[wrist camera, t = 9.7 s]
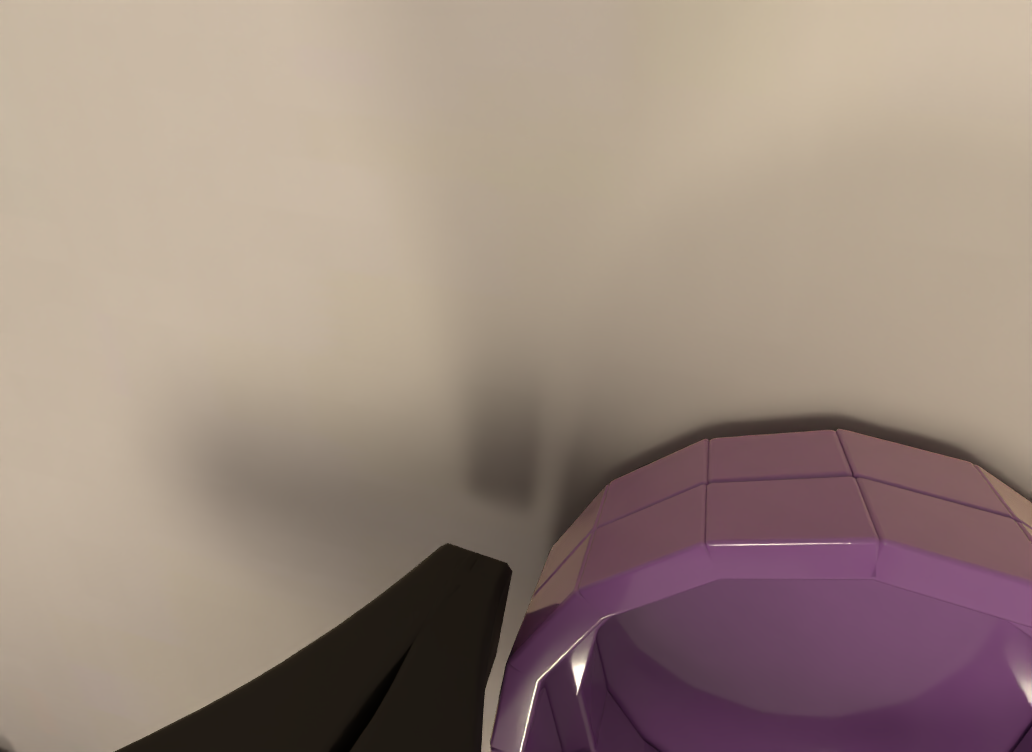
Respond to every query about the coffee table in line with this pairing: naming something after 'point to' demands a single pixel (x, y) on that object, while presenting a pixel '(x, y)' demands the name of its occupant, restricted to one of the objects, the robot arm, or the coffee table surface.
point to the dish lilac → (782, 607)
